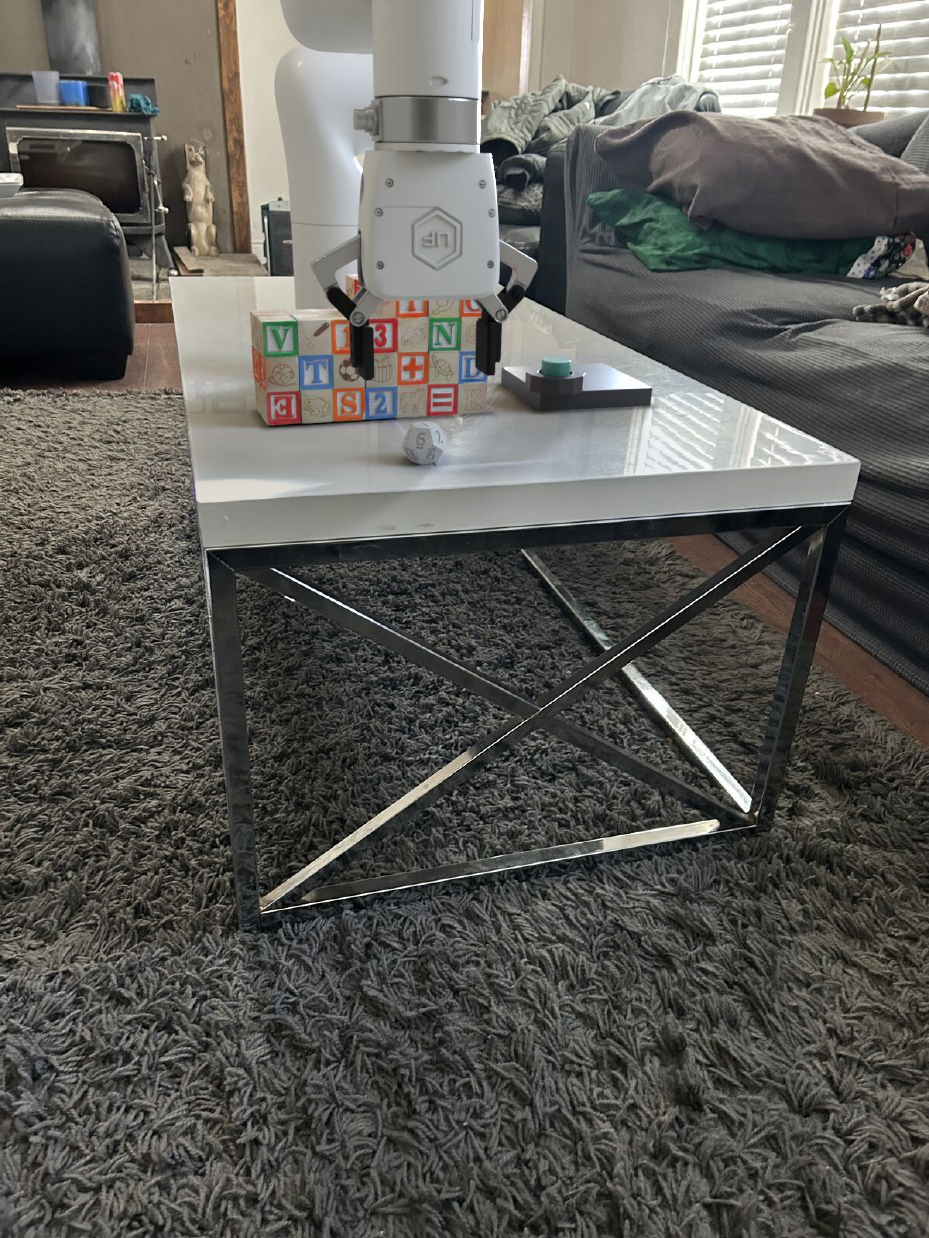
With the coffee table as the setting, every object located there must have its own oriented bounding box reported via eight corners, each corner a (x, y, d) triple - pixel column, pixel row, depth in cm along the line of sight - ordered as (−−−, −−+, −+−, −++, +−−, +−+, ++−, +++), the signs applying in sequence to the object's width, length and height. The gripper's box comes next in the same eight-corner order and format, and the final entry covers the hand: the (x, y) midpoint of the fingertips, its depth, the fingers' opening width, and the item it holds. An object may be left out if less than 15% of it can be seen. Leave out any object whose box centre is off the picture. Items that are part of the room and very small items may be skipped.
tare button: (547, 379, 92) (548, 363, 92) (536, 373, 95) (537, 357, 94) (573, 378, 93) (575, 362, 92) (563, 372, 95) (564, 356, 95)
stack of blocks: (266, 428, 86) (257, 284, 80) (255, 411, 91) (245, 274, 85) (488, 413, 93) (493, 279, 87) (465, 398, 98) (469, 271, 92)
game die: (413, 469, 76) (413, 432, 75) (395, 456, 79) (395, 421, 78) (453, 464, 78) (453, 428, 76) (434, 452, 81) (435, 417, 79)
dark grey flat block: (536, 416, 92) (538, 379, 91) (493, 385, 104) (494, 352, 102) (656, 410, 96) (660, 374, 94) (602, 380, 107) (605, 348, 105)
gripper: (312, 124, 62) (324, 389, 69) (560, 132, 67) (546, 380, 74) (297, 127, 68) (309, 369, 76) (524, 134, 73) (514, 362, 80)
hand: (426, 374), depth 75 cm, fingers open, 9 cm apart
